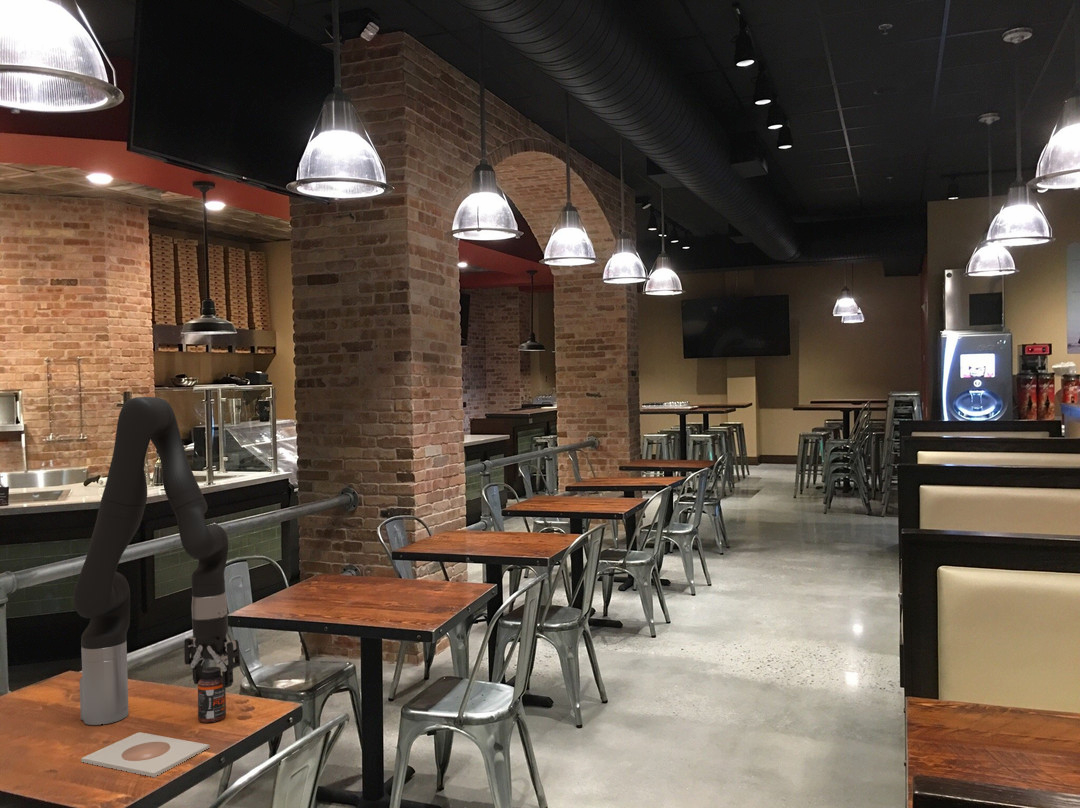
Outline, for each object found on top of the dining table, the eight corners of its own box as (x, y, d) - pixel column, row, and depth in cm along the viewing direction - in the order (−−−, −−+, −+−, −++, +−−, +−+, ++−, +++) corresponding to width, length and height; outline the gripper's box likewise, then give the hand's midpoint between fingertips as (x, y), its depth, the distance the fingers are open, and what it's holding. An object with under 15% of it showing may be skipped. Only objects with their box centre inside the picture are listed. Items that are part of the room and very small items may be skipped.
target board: (81, 762, 168) (81, 757, 168) (139, 735, 181) (138, 731, 181) (154, 777, 161) (154, 772, 161) (209, 748, 173) (209, 744, 173)
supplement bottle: (216, 724, 187) (215, 674, 186) (192, 723, 188) (191, 673, 188) (231, 714, 192) (230, 665, 192) (208, 713, 194) (206, 664, 194)
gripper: (173, 616, 189) (176, 687, 189) (221, 620, 184) (225, 693, 184) (198, 608, 196) (202, 676, 196) (246, 611, 191) (249, 682, 191)
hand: (213, 684), depth 190 cm, fingers open, 8 cm apart
